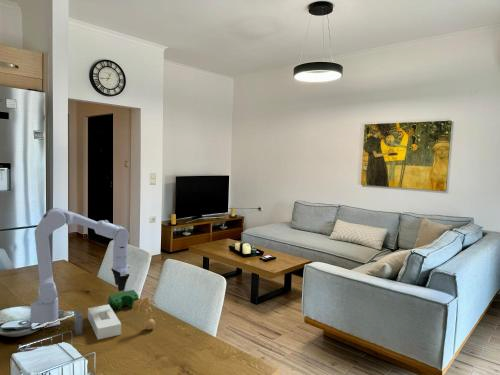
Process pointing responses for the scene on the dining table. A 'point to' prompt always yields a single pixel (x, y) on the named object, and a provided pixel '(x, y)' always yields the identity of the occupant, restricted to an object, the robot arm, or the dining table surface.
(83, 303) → the dining table surface
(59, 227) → the robot arm
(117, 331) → the white slotted block
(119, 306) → the clamp
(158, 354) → the dining table surface
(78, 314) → the bracket
